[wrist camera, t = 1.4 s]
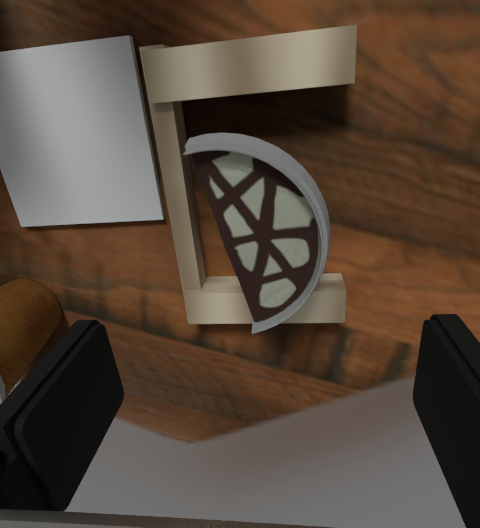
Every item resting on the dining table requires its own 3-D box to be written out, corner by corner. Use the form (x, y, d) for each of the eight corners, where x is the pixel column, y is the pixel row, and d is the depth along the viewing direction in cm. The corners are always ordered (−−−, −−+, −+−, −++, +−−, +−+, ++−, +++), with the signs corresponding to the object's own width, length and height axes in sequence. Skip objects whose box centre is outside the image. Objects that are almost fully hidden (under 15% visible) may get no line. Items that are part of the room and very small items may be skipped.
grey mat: (132, 36, 25) (128, 35, 24) (165, 217, 30) (163, 219, 30) (-34, 57, 27) (-41, 57, 26) (25, 224, 32) (21, 226, 31)
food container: (334, 252, 30) (355, 320, 21) (263, 269, 31) (254, 341, 22) (296, 97, 25) (301, 99, 16) (215, 126, 27) (179, 142, 18)
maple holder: (348, 27, 23) (357, 18, 20) (339, 306, 32) (344, 325, 29) (151, 51, 25) (135, 46, 22) (194, 308, 34) (186, 326, 31)
